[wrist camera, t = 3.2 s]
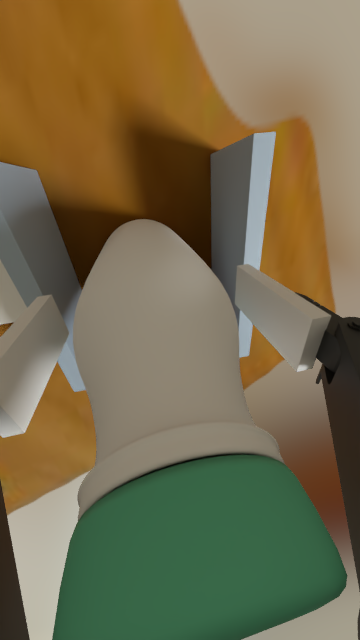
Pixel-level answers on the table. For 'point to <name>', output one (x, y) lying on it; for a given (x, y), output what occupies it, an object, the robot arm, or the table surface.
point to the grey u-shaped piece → (54, 262)
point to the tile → (9, 299)
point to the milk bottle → (180, 465)
